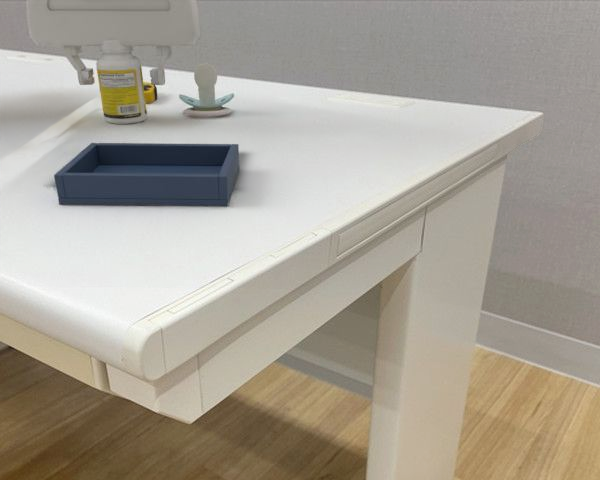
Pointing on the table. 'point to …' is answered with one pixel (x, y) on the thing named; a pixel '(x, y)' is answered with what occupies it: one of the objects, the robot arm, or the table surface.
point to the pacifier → (206, 94)
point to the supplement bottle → (121, 84)
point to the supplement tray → (150, 175)
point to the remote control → (150, 92)
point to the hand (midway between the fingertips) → (122, 84)
